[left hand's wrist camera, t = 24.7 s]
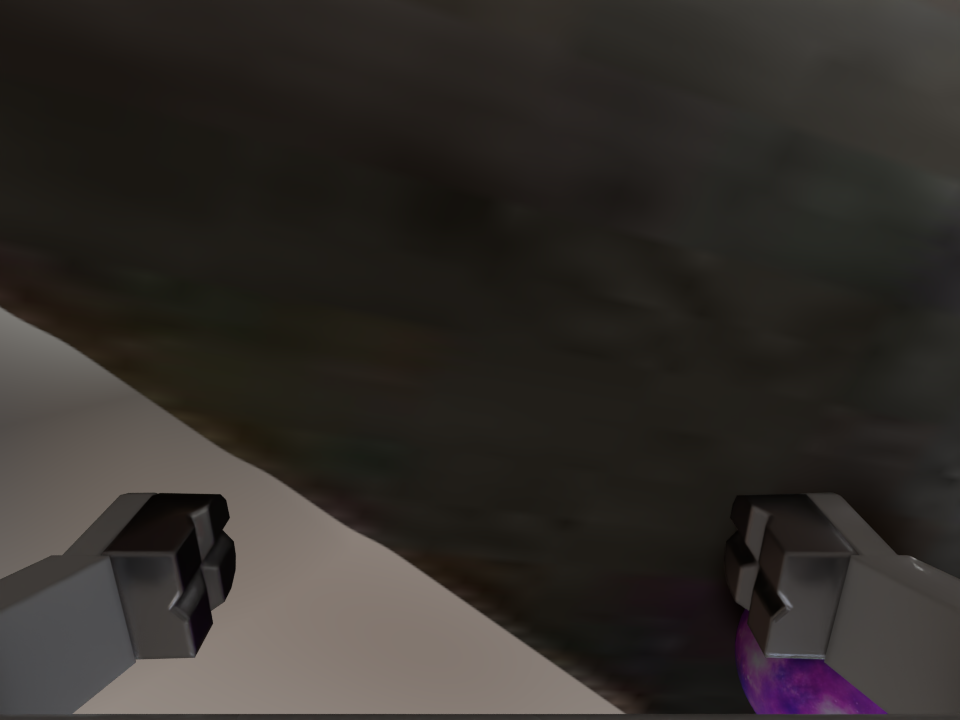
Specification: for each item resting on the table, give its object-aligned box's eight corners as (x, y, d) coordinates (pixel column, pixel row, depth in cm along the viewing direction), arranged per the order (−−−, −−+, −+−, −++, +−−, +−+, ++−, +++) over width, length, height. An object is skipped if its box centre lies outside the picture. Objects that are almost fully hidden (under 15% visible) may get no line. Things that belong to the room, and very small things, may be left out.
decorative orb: (811, 503, 56) (921, 632, 42) (904, 599, 60) (1034, 747, 46) (678, 600, 60) (738, 748, 46) (773, 685, 64) (856, 845, 50)
